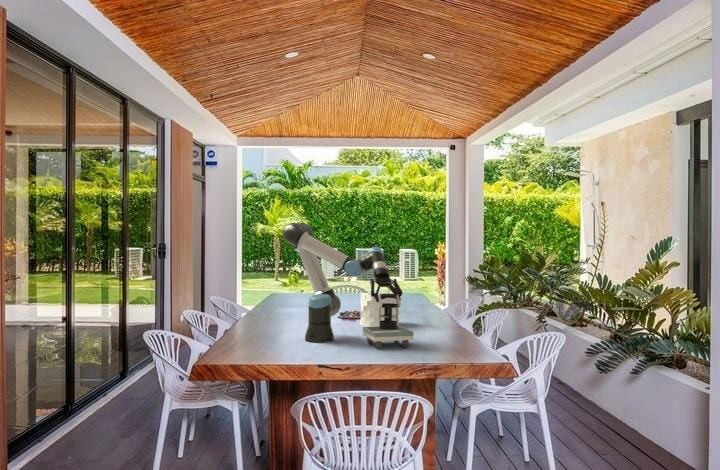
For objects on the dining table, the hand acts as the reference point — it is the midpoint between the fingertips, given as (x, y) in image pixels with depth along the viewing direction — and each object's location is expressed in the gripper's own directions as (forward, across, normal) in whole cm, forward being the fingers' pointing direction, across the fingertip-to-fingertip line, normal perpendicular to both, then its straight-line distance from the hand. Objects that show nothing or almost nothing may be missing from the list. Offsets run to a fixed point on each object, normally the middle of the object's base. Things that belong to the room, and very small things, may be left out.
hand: (390, 306), depth 303 cm
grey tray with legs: (+12, 0, -16) cm, 20 cm away
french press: (+6, 0, -10) cm, 12 cm away
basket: (-36, -17, -65) cm, 76 cm away
